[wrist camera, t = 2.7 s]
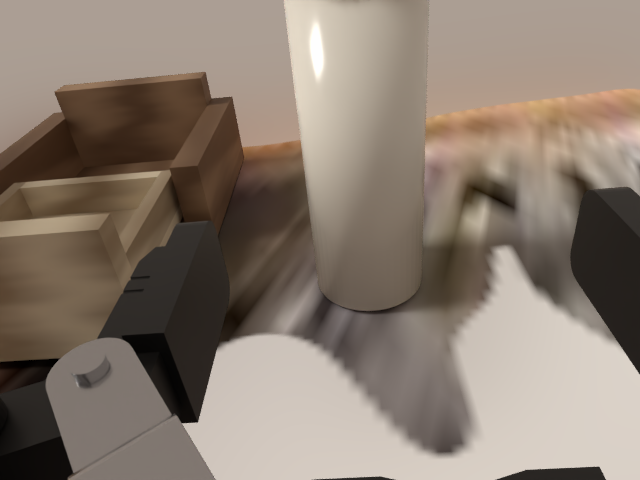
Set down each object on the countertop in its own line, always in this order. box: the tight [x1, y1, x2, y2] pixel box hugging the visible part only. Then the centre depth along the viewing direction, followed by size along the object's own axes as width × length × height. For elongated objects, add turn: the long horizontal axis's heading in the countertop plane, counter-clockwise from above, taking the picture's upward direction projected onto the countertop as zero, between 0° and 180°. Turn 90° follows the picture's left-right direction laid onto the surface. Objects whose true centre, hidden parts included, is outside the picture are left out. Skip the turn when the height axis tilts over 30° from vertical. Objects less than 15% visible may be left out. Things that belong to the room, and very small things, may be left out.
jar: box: [284, 0, 429, 311], centre depth 22 cm, size 6×6×15 cm
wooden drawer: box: [0, 170, 183, 362], centre depth 25 cm, size 12×11×7 cm
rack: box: [0, 72, 244, 236], centre depth 34 cm, size 14×12×7 cm
